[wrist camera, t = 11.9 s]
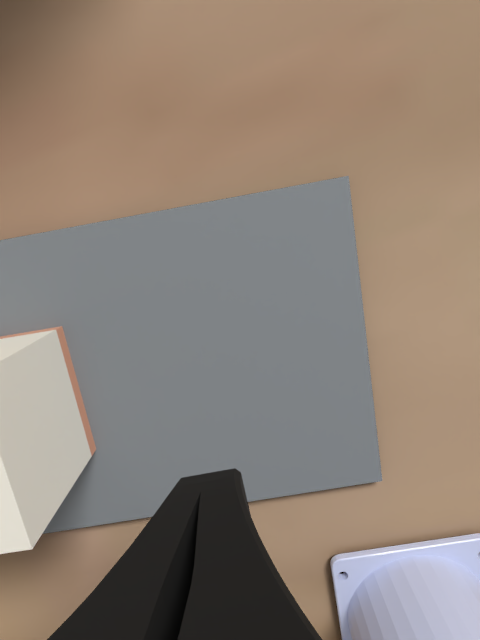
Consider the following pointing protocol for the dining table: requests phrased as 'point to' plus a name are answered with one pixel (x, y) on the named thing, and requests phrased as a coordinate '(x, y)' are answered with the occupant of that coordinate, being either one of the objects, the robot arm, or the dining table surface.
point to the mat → (207, 346)
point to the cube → (38, 434)
